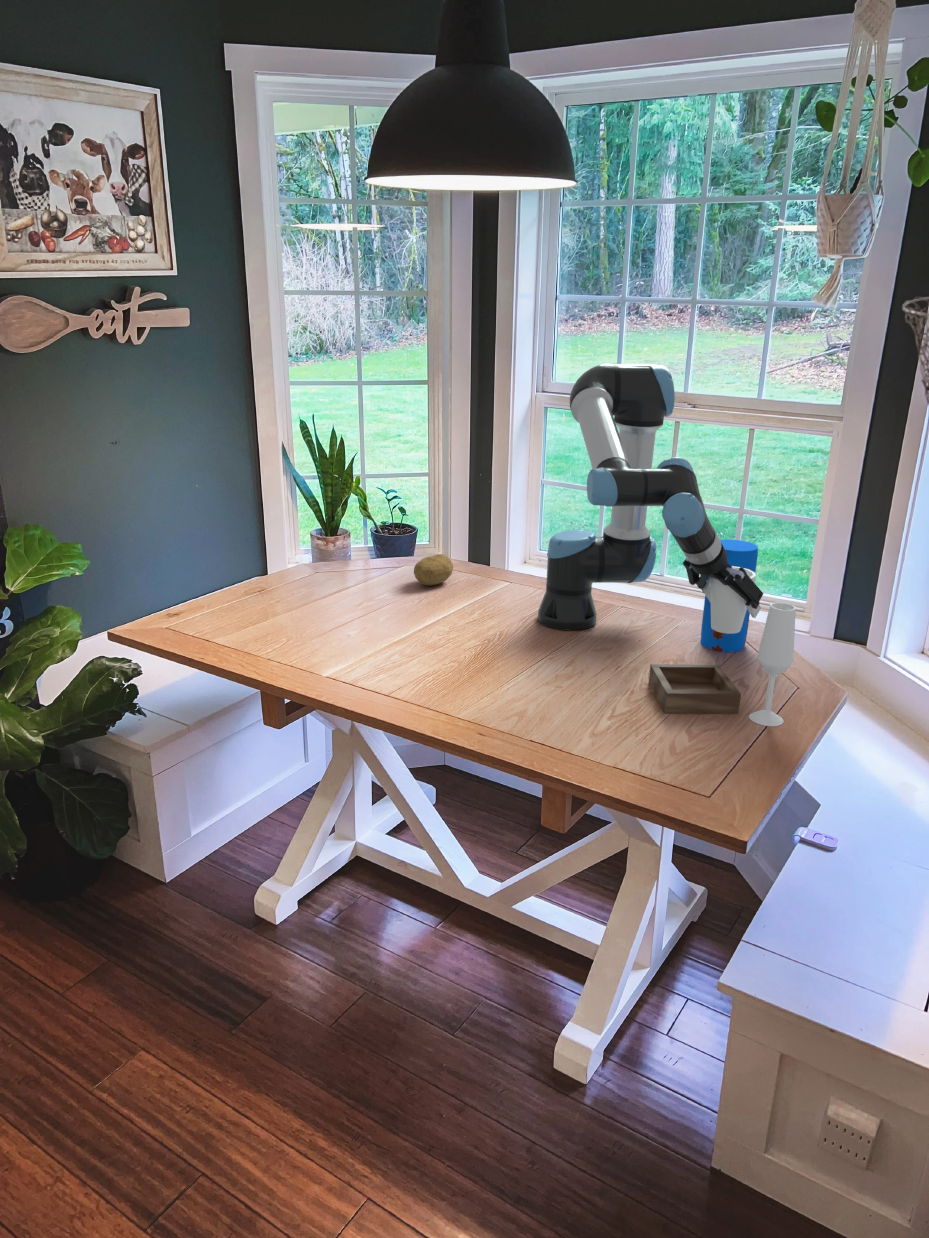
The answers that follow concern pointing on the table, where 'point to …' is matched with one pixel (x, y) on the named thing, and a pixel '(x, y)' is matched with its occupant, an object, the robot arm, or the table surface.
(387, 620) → the table surface
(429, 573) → the potato
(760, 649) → the champagne flute
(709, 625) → the thermos
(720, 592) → the foam cup
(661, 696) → the square wooden tray
